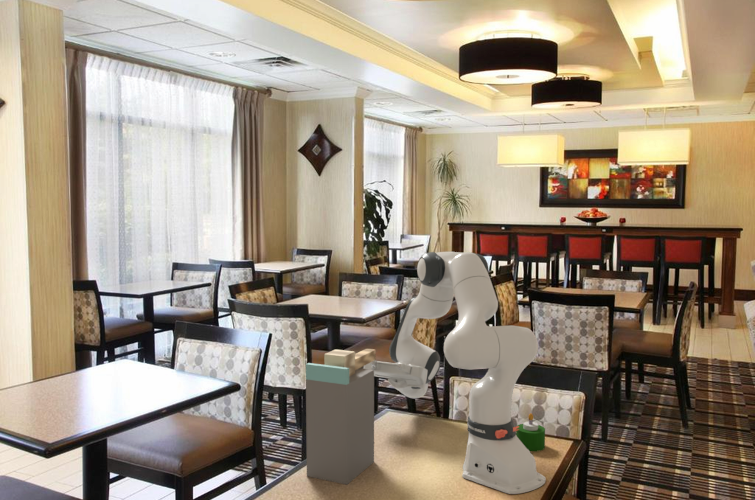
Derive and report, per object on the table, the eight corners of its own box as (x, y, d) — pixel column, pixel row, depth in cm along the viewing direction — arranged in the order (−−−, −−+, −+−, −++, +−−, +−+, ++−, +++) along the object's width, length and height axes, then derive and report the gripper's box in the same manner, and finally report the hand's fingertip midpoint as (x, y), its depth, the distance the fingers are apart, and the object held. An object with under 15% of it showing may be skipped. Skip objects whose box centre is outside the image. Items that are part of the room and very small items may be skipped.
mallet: (361, 358, 192) (361, 338, 192) (380, 360, 189) (380, 340, 189) (324, 376, 172) (324, 354, 172) (344, 379, 170) (344, 356, 169)
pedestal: (336, 454, 186) (335, 351, 184) (374, 461, 181) (373, 355, 178) (306, 476, 171) (305, 364, 169) (347, 484, 166) (346, 369, 164)
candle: (510, 443, 194) (510, 410, 194) (533, 439, 198) (533, 407, 197) (527, 453, 187) (527, 419, 186) (550, 449, 190) (551, 415, 189)
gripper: (375, 363, 218) (358, 350, 206) (432, 370, 209) (418, 357, 197) (370, 381, 215) (354, 369, 204) (428, 389, 206) (414, 377, 195)
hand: (386, 363), depth 201 cm, fingers open, 8 cm apart
